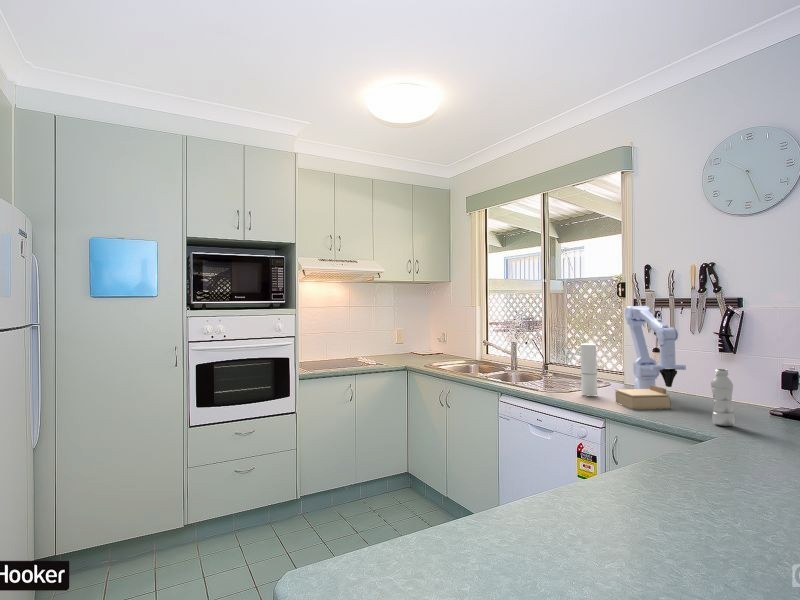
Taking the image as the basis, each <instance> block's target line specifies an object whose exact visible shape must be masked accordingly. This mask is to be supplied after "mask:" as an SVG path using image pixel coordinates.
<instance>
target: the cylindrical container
mask: <svg viewBox="0 0 800 600" xmlns="http://www.w3.org/2000/svg"><path fill="white" fill-rule="evenodd" d="M579 346H580V347H579V348H580V375H581V376H580V378H581V379H580V381H581V382H580V384H581V385H580V386H581V388H580V389H581V395H582V394H583V395H589V396H594V395H597V396H598V374H597V373H598V370H597V369H598V367H597V361H598V360H597V344H596V343H580V345H579Z"/></svg>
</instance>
